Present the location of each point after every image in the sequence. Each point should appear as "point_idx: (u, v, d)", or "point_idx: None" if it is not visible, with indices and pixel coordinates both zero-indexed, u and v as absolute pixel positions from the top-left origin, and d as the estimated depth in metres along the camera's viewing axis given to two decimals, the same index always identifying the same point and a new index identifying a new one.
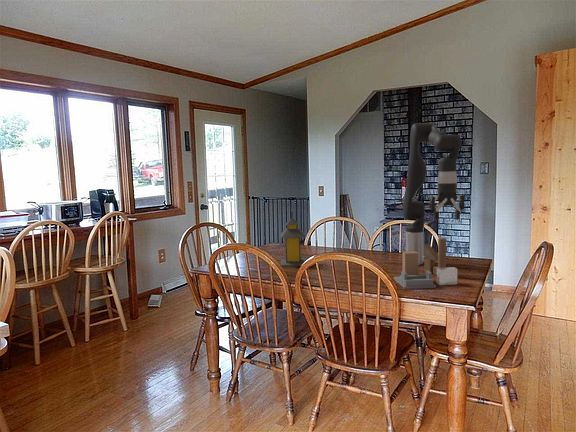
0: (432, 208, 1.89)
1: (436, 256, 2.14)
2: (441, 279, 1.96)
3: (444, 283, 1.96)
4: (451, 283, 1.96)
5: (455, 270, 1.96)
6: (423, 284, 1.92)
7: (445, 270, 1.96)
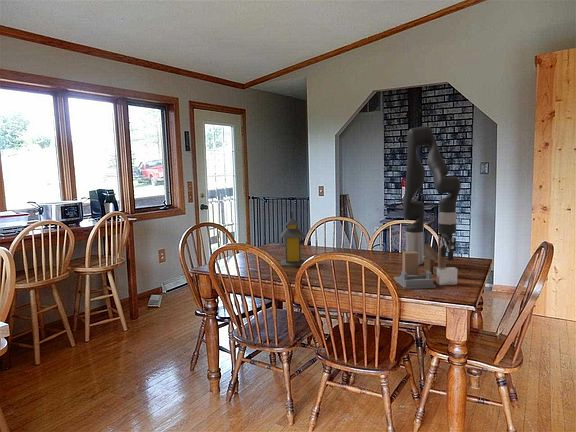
0: None
1: (436, 256, 2.14)
2: (441, 279, 1.96)
3: (444, 283, 1.96)
4: (451, 283, 1.96)
5: (455, 270, 1.96)
6: (423, 284, 1.92)
7: (445, 270, 1.96)
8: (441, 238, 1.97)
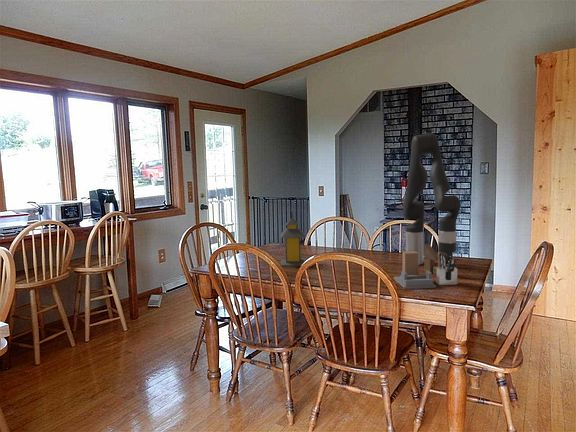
0: None
1: (436, 256, 2.14)
2: (441, 279, 1.96)
3: (444, 283, 1.96)
4: (451, 283, 1.96)
5: (455, 270, 1.96)
6: (423, 284, 1.92)
7: (445, 270, 1.96)
8: (441, 256, 1.98)
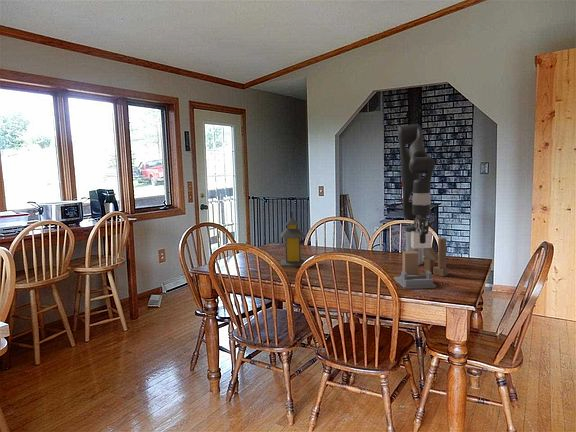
0: None
1: (436, 256, 2.14)
2: (415, 242, 1.93)
3: (418, 246, 1.93)
4: (425, 246, 1.93)
5: (429, 233, 1.93)
6: (423, 284, 1.92)
7: (419, 233, 1.92)
8: (416, 220, 1.95)
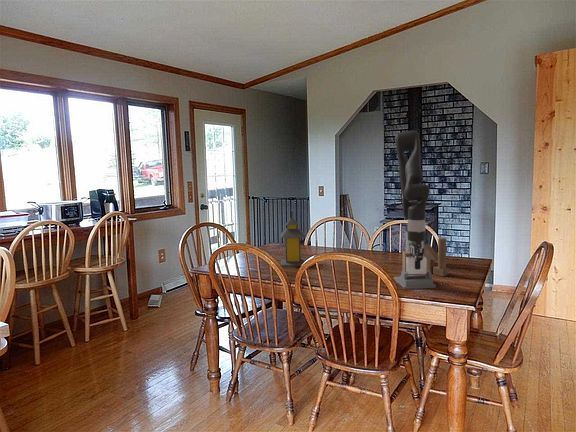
0: None
1: (436, 256, 2.14)
2: (410, 268, 1.94)
3: (413, 272, 1.94)
4: (420, 272, 1.95)
5: (424, 259, 1.94)
6: (423, 284, 1.92)
7: (414, 259, 1.94)
8: (411, 245, 1.96)
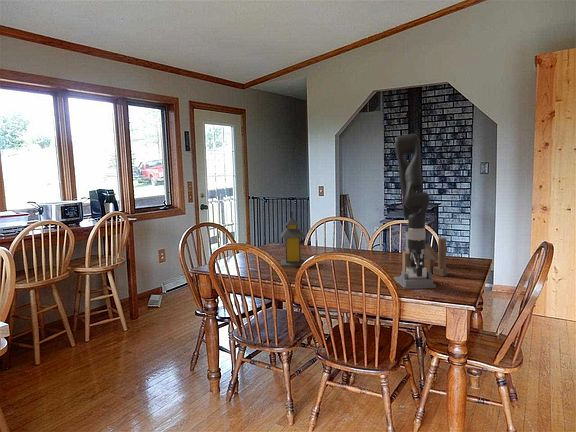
0: None
1: (436, 256, 2.14)
2: None
3: None
4: None
5: (424, 269, 1.94)
6: (423, 284, 1.92)
7: (414, 269, 1.94)
8: (411, 254, 1.97)
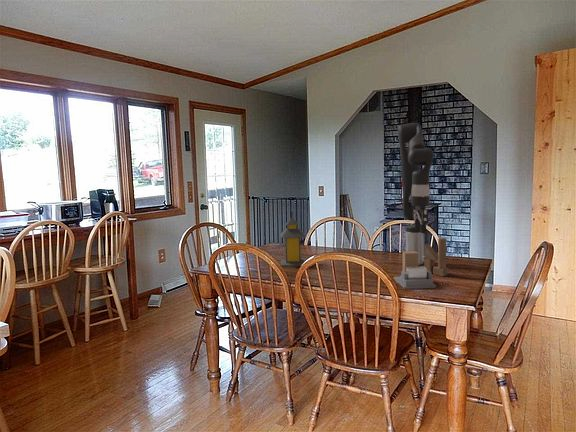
0: None
1: (436, 256, 2.14)
2: None
3: None
4: None
5: (424, 269, 1.94)
6: (423, 284, 1.92)
7: (414, 269, 1.94)
8: (415, 211, 1.96)
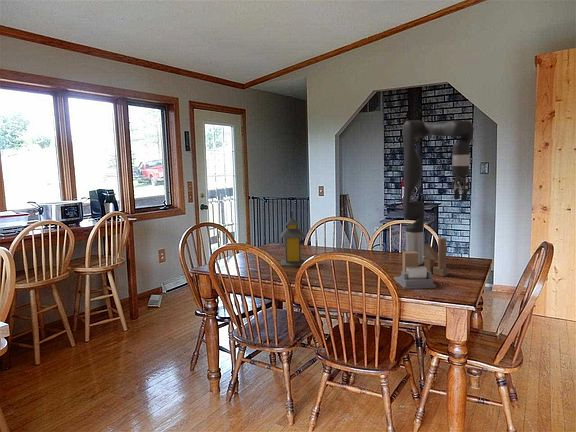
0: None
1: (436, 256, 2.14)
2: None
3: None
4: None
5: (424, 269, 1.94)
6: (423, 284, 1.92)
7: (414, 269, 1.94)
8: (455, 181, 2.05)
